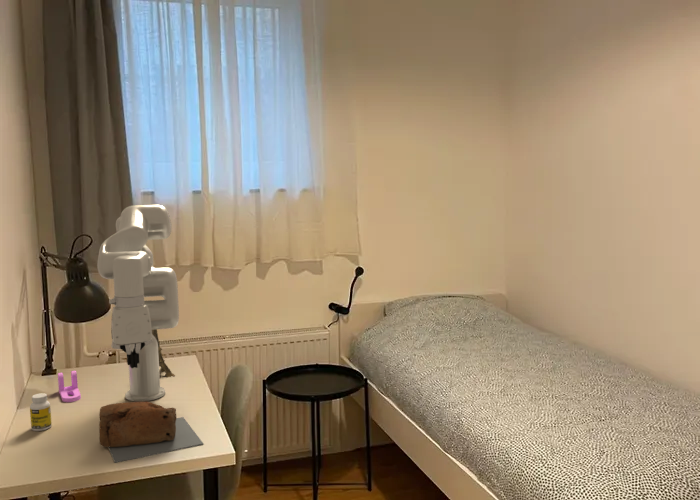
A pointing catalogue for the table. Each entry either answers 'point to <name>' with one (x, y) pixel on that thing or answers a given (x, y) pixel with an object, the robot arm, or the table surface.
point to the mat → (159, 444)
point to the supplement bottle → (40, 412)
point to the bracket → (69, 388)
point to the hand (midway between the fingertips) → (133, 366)
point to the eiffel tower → (161, 360)
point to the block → (135, 424)
